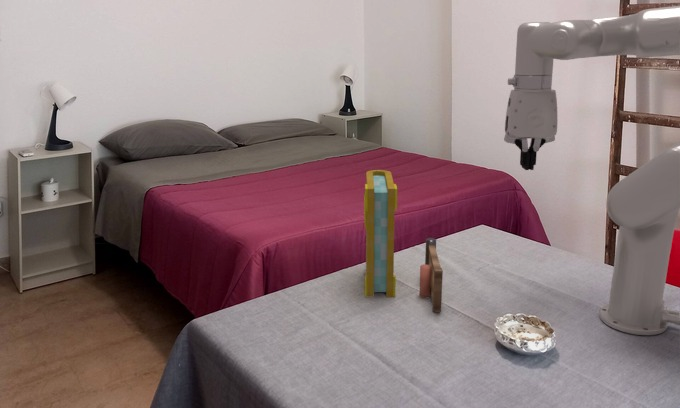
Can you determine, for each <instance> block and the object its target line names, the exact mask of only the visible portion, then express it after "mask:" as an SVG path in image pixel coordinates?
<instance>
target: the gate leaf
mask: <svg viewBox="0 0 680 408" xmlns="http://www.w3.org/2000/svg"><path fill="white" fill-rule="evenodd" d="M428 251H429V265H430V266H431V287H430V297H431V302H432V311H433V312H434V313H435V312H437V313H440V312H442V302H443V301H442V300H443V299H442V295H443V275H444V274H443V273H444V272H443V268H442V267H441V264H440V260H439V257H438V252H437V247H436V248H435V245H429V248H428Z"/></svg>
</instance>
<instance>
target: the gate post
mask: <svg viewBox="0 0 680 408" xmlns="http://www.w3.org/2000/svg"><path fill="white" fill-rule="evenodd" d="M429 245H435V248H436V249H437V239H436V238H434V237H428V238H425V257H424V259H425V260H424V264H426V265H429V251H428V248H429Z"/></svg>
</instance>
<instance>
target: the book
mask: <svg viewBox="0 0 680 408" xmlns="http://www.w3.org/2000/svg"><path fill="white" fill-rule="evenodd" d="M365 174H366V175H365V176H366V177H365V178H366V179H365V181H366V183H365V184H364V192H365V193H363V194H364V195H363V197H364V201H363V203H364V204H363V211H364V212H363V213H364V229H365V231H366V232H365V240H366V241H365V275H364V297H365V298H373V297H375V293H377V292H378V293H386V294H385V295H386V298H396V282H397V281H396V275H395V274H394V272H395V271H394V265H395V264H394V263H395V259H394V258H395V214H396V213H395V211H397V210H398V186H397V184H396V183H394V179H393V175H392V172H391V171H388V170H385V169H373V170H372V169H371V170H368V171H366V172H365Z"/></svg>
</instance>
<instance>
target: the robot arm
mask: <svg viewBox="0 0 680 408" xmlns="http://www.w3.org/2000/svg"><path fill="white" fill-rule="evenodd" d="M515 50H516V51H515V64H514V66H515V67H514V74H513V77H511V78H510V77H508V79H507V85H509V86H510V85H511V86H512V87H513V89H511V90H510V93H509V96H508V101H507V105H506V106H507V107H506V112H505V121H504V132H505V134H504V137H503V140H504V142H505V143H508V144H512V145H515V146H516V148H518V149H519V150H520V155H519V157H520V158H519V165H520V166H521V168H522V169H523V170H525V171H529V170H530V171H533V170H535V169H534V168H535V166H536V165H537V153H538V152H539V150H540V148H542V147H543V146H544V145H545V144H548V143H552V142H554V141H556V137H555V136H556V135H557V132H558V101H557V99H558V98H557V92H556V90H555V89H552V86H553V85H552V84H553V83H552V82H553V69H554V60H559V61H568V60H576V59H587V58H597V57H609V56H610V57H611V56H612V57H613V56H637V57H638V58H653V57H654V58H656V57H667V56H668V57H670V56H671V57H672V56H680V5H673V6H665V7H655V8H653V7H652V8H648V9H643V10H640V11H638V12H637V13H633V14H629V15H623V16H615V17H613V16H612V17H606V18H604V17H603V18H595V19H593V18H592V19H571V20H570V19H567V20H560V21H555V22H548V21H535V22H534V21H532V22H523V23H521V24H519V26H518V28H517V31H516V47H515ZM528 139H530V142H529V141H528ZM528 142H529V143H528ZM605 203H606V211H607V215H608V216H609V218H610V219H611V221H613V223H615V224H616V225H617V226H619V228H618V234H617V240H616V246H615V247H616V248H615V253H614V261H613V262H614V263H613V271H612V279H611V286H610V292H609V293H610V294H609V302H608V303H605V304H604V305H603V306H601V307H600V310H599V318H600V320H601V321H602V322H603V323H604V324H605V325H607V326H608V327H610V328H613V329H615V330H617V331H620V332H622V333H626V334H630V335H636V336H637V335H638V336H639V335H640V336H655V335H659V334H662V333H664V332H666V330H667V329H668V325H669V323H670V324H674V325H677V326H680V311H679V310H672V309H668V308H667V307H665V300H664V294H665V287H666V281H667V273H668V267H669V262H670V254H671V250H672V243H673V238H674V233H675V228H676V223H677V220H678V217H679V214H680V141H678V142H676V143H674V144H673V145H671V146H669V147H668V148H666V149H664V150H663V151H661V152H660V153H659V154H657V155H655V156H654V157H652V158H651V159H649V161H647V162H646V163H644V164H643V165H641V166H640V167H638V168H637V169H636V170H634V171H633V172H631V173H630V174H628V175H627V176H625V177H623V178H622V179H621V180H620V181H618V182H617V183H615V184H614V185H613V186H612V187H611V189H610V191H609V192H608V194H607V197H606V202H605Z"/></svg>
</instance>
